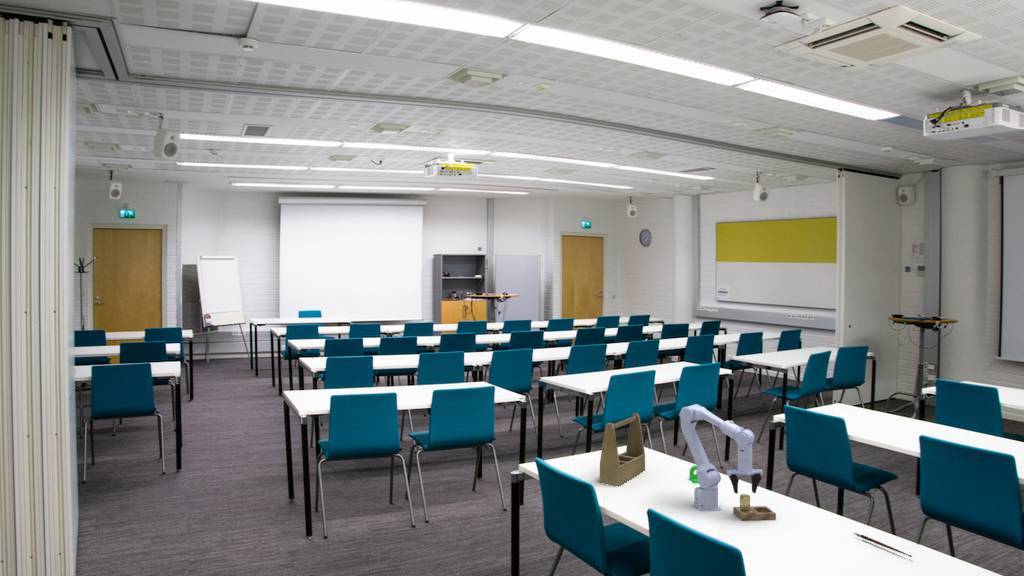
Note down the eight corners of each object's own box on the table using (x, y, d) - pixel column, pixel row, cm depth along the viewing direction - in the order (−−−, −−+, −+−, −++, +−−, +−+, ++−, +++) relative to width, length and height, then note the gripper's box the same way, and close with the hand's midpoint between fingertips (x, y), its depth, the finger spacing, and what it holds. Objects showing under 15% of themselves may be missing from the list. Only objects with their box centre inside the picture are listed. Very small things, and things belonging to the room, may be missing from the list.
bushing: (742, 512, 271) (742, 497, 271) (738, 508, 275) (738, 494, 275) (751, 511, 271) (751, 497, 271) (747, 508, 275) (747, 494, 275)
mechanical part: (694, 486, 314) (694, 469, 314) (689, 482, 320) (689, 465, 320) (718, 485, 315) (718, 468, 315) (713, 481, 321) (713, 465, 321)
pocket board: (742, 520, 268) (742, 514, 268) (733, 512, 277) (733, 506, 277) (775, 519, 269) (775, 513, 269) (765, 512, 278) (765, 505, 278)
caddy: (626, 470, 340) (626, 411, 340) (645, 473, 334) (645, 414, 333) (599, 484, 316) (599, 421, 316) (619, 488, 310) (619, 424, 310)
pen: (851, 534, 253) (910, 557, 233) (852, 531, 253) (911, 554, 233) (853, 534, 254) (912, 557, 233) (854, 531, 254) (913, 554, 233)
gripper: (731, 462, 268) (731, 496, 268) (766, 462, 269) (766, 495, 269) (724, 458, 275) (724, 490, 275) (758, 457, 276) (758, 489, 276)
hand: (744, 492), depth 273 cm, fingers open, 7 cm apart
